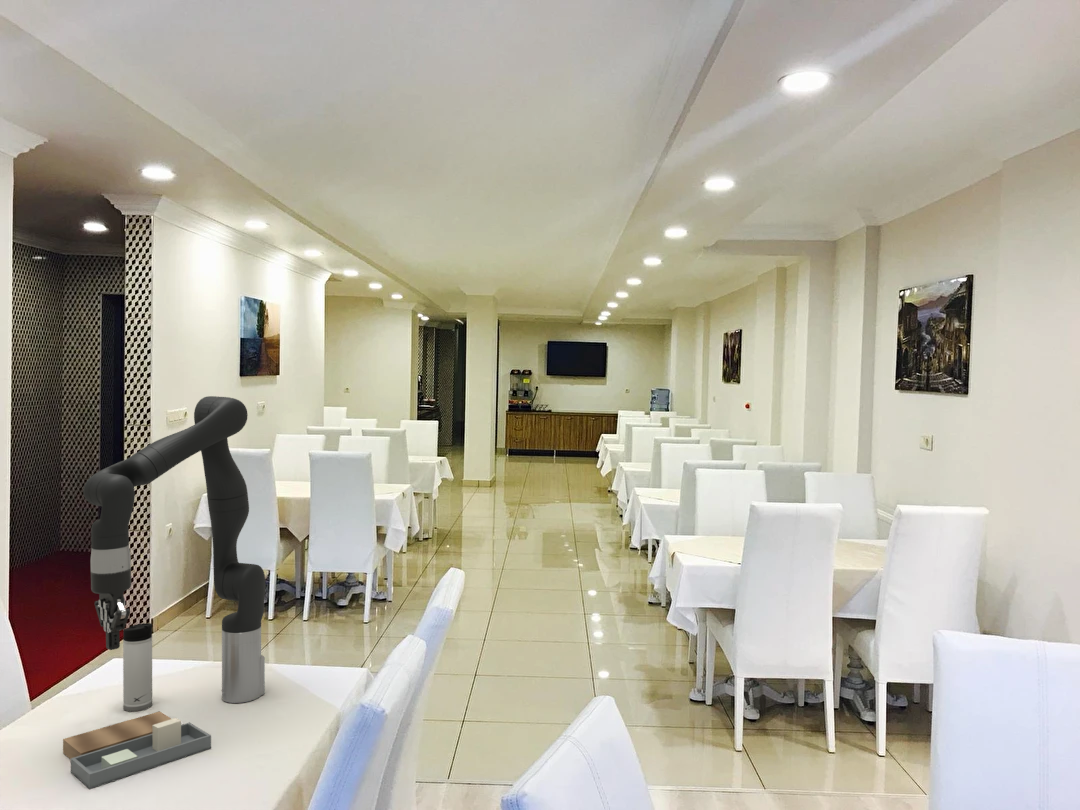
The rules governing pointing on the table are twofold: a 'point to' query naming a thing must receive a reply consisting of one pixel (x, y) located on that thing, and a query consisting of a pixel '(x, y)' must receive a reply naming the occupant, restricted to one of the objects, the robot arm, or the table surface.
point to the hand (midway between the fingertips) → (112, 648)
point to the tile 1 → (117, 758)
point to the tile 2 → (166, 734)
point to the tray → (94, 775)
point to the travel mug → (137, 667)
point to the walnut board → (111, 735)
